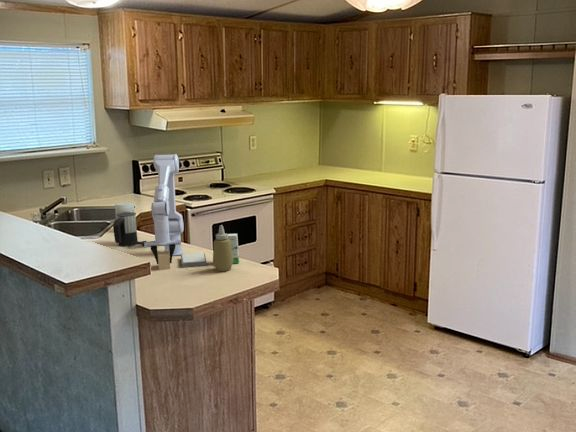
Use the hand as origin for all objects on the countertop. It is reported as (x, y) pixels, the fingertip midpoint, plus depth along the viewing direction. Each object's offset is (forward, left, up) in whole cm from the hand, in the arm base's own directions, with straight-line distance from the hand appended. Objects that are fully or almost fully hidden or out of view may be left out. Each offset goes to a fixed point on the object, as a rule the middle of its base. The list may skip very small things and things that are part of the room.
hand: (164, 263), depth 255 cm
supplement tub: (-76, -19, -2) cm, 78 cm away
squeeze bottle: (+11, +23, -2) cm, 26 cm away
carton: (0, 0, -2) cm, 2 cm away
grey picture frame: (-4, +12, -2) cm, 13 cm away
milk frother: (-43, -14, -2) cm, 45 cm away
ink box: (+1, +26, -2) cm, 26 cm away
